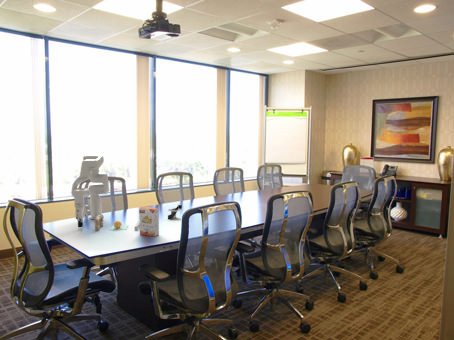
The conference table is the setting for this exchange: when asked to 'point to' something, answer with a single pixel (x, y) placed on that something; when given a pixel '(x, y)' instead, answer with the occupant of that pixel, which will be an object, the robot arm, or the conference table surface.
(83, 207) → the robot arm
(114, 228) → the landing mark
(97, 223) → the bridge
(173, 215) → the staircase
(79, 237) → the conference table surface
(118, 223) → the ball
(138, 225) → the stopper
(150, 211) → the cracker box
